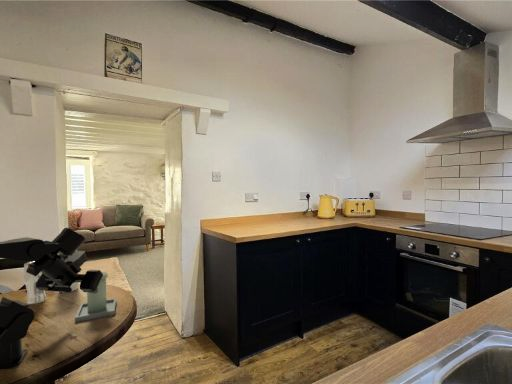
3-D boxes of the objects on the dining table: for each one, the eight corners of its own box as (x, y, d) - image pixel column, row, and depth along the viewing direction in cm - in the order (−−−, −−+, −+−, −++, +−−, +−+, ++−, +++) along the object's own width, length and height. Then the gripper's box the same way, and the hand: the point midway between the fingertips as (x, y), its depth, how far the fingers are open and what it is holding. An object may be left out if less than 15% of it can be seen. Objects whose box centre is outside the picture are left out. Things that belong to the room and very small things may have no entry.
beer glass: (35, 305, 102) (33, 265, 102) (19, 304, 103) (18, 264, 103) (52, 298, 109) (51, 260, 108) (37, 296, 110) (36, 259, 110)
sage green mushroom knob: (107, 311, 96) (106, 276, 95) (84, 315, 93) (83, 279, 93) (108, 303, 102) (108, 271, 102) (87, 307, 99) (86, 273, 99)
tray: (114, 315, 94) (114, 310, 94) (75, 322, 89) (74, 317, 89) (116, 302, 104) (116, 298, 104) (81, 307, 100) (81, 303, 100)
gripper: (98, 245, 85) (120, 269, 96) (43, 244, 86) (70, 268, 98) (80, 279, 77) (106, 301, 88) (19, 277, 79) (52, 299, 90)
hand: (83, 291), depth 91 cm, fingers open, 9 cm apart
